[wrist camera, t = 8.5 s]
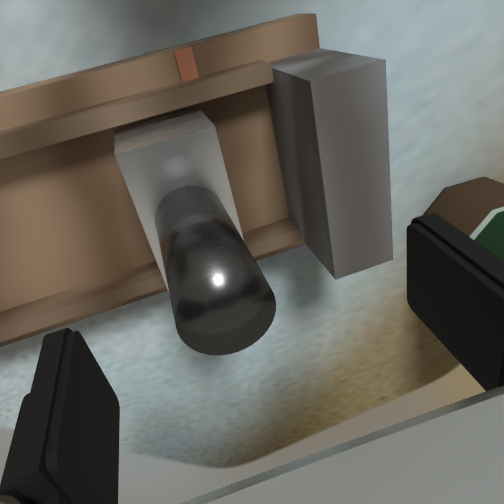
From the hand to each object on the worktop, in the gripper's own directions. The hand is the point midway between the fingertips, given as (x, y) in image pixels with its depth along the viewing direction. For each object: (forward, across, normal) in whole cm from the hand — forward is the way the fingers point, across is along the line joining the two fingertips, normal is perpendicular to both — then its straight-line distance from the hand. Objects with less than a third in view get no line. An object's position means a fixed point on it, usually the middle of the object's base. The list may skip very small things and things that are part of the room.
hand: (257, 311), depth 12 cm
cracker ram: (+12, +1, +1) cm, 12 cm away
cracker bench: (+14, +5, 0) cm, 15 cm away
